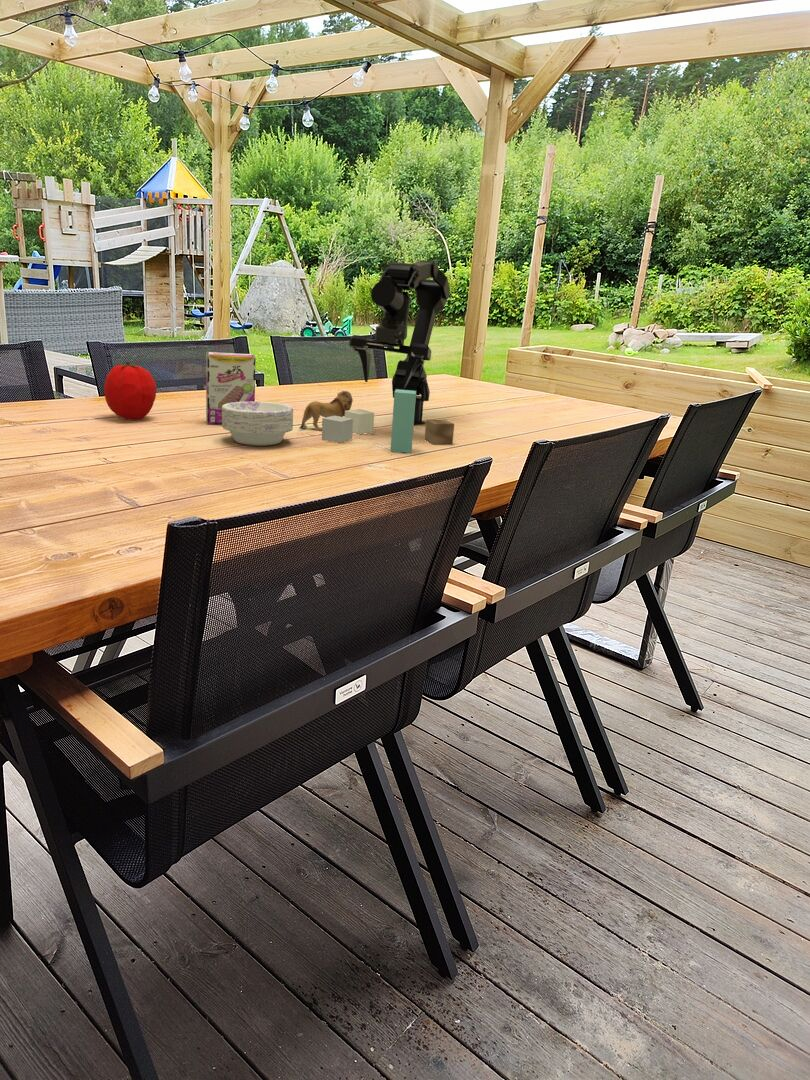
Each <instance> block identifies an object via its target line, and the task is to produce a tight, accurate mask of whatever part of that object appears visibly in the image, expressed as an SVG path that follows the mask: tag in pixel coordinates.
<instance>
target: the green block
mask: <svg viewBox="0 0 810 1080" xmlns="http://www.w3.org/2000/svg"><path fill="white" fill-rule="evenodd" d="M415 400H416V391H411V390H399V389H396V390H395V392H394V398H393V408H392V423H391V438H390V439H391V440H390V442H391V443H390V451H395V452H394V453H398V452H407V453H406V454H412V449H413V437H414V426H415V424H414V413H415Z"/></svg>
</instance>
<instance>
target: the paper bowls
mask: <svg viewBox="0 0 810 1080" xmlns="http://www.w3.org/2000/svg"><path fill="white" fill-rule="evenodd" d="M293 425H294V408H293V406H290V405H288V404H284V403H278V402H271V401H269V402H268V401H255V402H254V401H251V402H250V401H249V402H232V403H227V404H224V405H223V406H222V424H221V427H222V429H223V430H225V431H229V433H230V434H231V437H232V439H233V441H235V442H236V443H238V444H242V445H245V446H254V447H255V446H259V447H260V446H262V447H265V446H273V445H277V444H279V443H281V442H282V441H283V439H284V437H285V434H286V433H290V432H292V431H293V429H294V426H293Z"/></svg>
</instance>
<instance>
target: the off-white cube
mask: <svg viewBox="0 0 810 1080" xmlns="http://www.w3.org/2000/svg"><path fill="white" fill-rule="evenodd" d="M344 417H346V418H351V419H353V428H352V434H353V433H356V434H355V435H357V434H361V435H365V434H364V433H368V434H372V433H371V432H373V433H374V425H375V412H373V411H368V410H365V409H361V408H359V409H358V408H357V409H350V410H347V411H345V416H344Z"/></svg>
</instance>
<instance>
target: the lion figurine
mask: <svg viewBox="0 0 810 1080" xmlns="http://www.w3.org/2000/svg"><path fill="white" fill-rule="evenodd" d="M353 401H354V400H353V395H352V394H351V392H349V391H347V390H342V391H339V392H338V393H337V395H336V396H335V398H333V399H332V400H331V401H330V402H321V401H317V400H315V401H311V402H309V403H308V404H307V405H306V407H305V409H304V412H303V414H302V415H303V416H302V419H301V425H300V427H299V429H307V428H308V426H307V425H306V422H308V420H311V418H312V420H313V421H312V425H313V427H314V428H315V430H316V431H319V432H320V431H321V432H322V427H319V425H318V423H319V420H320V417H323V418H326V417H330V416H340V417H345V411H347V410H351V407H352V404H353Z"/></svg>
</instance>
